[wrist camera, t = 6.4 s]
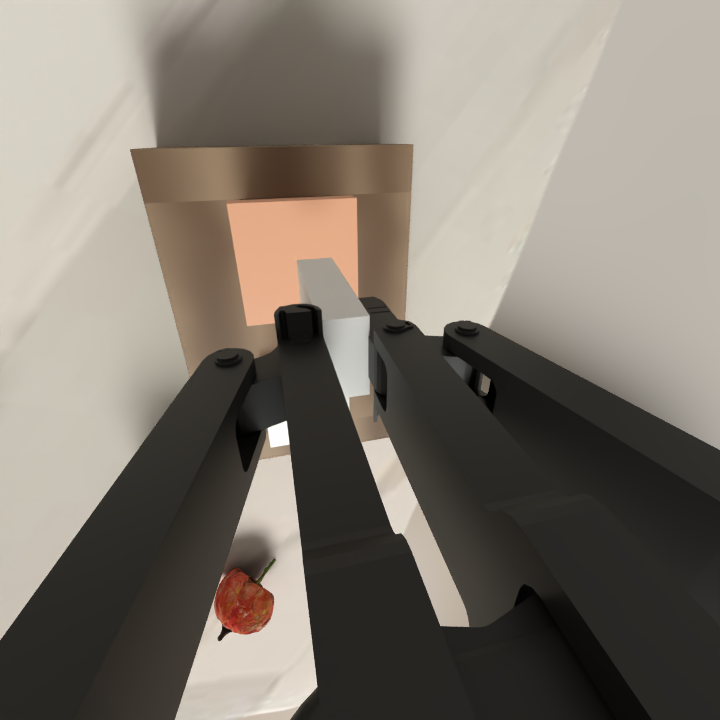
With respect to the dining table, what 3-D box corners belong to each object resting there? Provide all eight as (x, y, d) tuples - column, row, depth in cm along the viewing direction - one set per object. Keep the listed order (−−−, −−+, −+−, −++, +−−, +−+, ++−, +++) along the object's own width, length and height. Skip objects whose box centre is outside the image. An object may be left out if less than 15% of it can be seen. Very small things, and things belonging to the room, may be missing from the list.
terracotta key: (247, 282, 29) (247, 326, 22) (232, 187, 26) (226, 203, 19) (334, 275, 30) (358, 314, 23) (329, 183, 27) (356, 197, 20)
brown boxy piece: (219, 416, 38) (213, 467, 32) (156, 147, 27) (129, 149, 21) (378, 393, 41) (399, 435, 35) (381, 143, 30) (413, 144, 24)
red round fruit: (247, 532, 50) (182, 606, 44) (286, 563, 45) (219, 649, 40) (268, 558, 54) (211, 628, 49) (305, 589, 50) (247, 669, 45)
